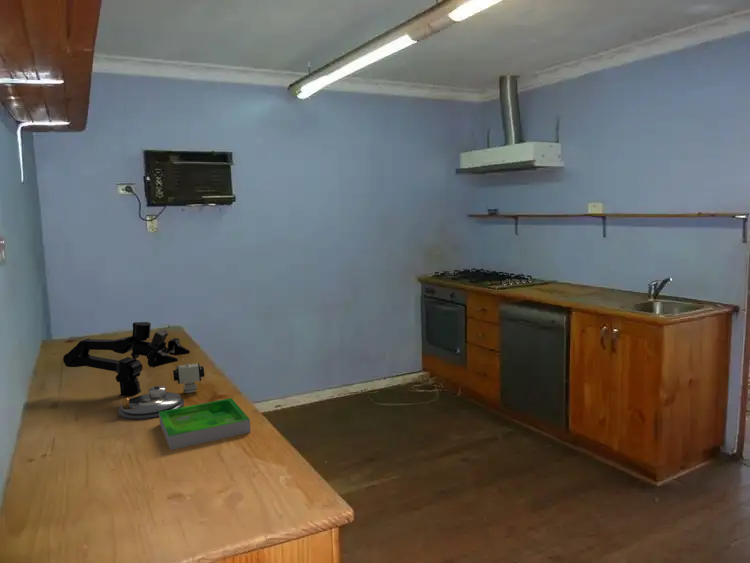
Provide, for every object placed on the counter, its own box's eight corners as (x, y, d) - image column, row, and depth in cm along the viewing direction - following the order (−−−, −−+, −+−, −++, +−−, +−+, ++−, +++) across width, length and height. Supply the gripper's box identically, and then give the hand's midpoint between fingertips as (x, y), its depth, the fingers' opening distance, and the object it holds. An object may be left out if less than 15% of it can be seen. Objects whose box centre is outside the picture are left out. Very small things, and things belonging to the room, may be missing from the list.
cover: (147, 399, 216) (146, 389, 215) (153, 394, 222) (152, 384, 221) (162, 398, 215) (161, 388, 215) (168, 393, 221) (168, 384, 221)
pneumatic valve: (205, 391, 231) (203, 362, 229) (175, 395, 227) (172, 366, 225) (204, 387, 236) (202, 359, 234) (175, 392, 232) (172, 363, 230)
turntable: (110, 416, 203) (108, 402, 203) (136, 396, 224) (135, 384, 223) (168, 414, 202) (166, 400, 202) (189, 394, 223) (188, 382, 223)
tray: (170, 451, 174) (169, 436, 174) (160, 425, 196) (158, 411, 196) (250, 433, 186) (249, 419, 185) (232, 411, 208) (231, 397, 207)
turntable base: (106, 420, 202) (106, 417, 202) (135, 399, 225) (135, 396, 225) (170, 418, 202) (169, 415, 201) (192, 397, 224) (192, 394, 224)
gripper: (134, 337, 217) (171, 344, 215) (161, 323, 235) (196, 329, 233) (133, 364, 220) (170, 371, 217) (160, 348, 238) (195, 355, 235)
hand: (183, 355), depth 225 cm, fingers open, 9 cm apart
